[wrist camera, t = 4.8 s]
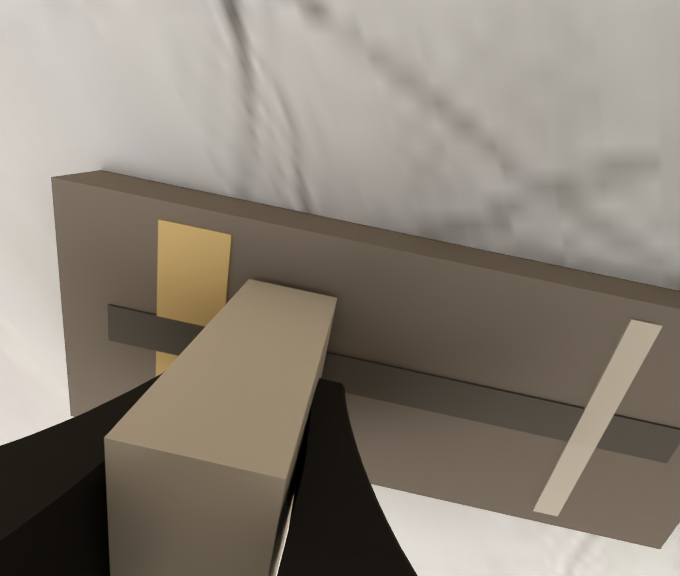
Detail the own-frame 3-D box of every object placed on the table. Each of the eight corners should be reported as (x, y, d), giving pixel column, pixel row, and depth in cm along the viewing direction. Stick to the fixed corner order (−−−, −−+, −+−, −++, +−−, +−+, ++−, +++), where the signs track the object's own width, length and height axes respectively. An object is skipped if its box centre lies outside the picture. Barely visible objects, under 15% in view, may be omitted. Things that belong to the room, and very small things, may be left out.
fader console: (747, 305, 12) (816, 339, 10) (626, 497, 15) (661, 552, 13) (100, 170, 13) (48, 177, 11) (108, 381, 16) (68, 417, 14)
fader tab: (337, 297, 11) (286, 478, 5) (308, 442, 13) (247, 690, 7) (248, 278, 11) (104, 438, 5) (233, 426, 13) (113, 658, 7)
